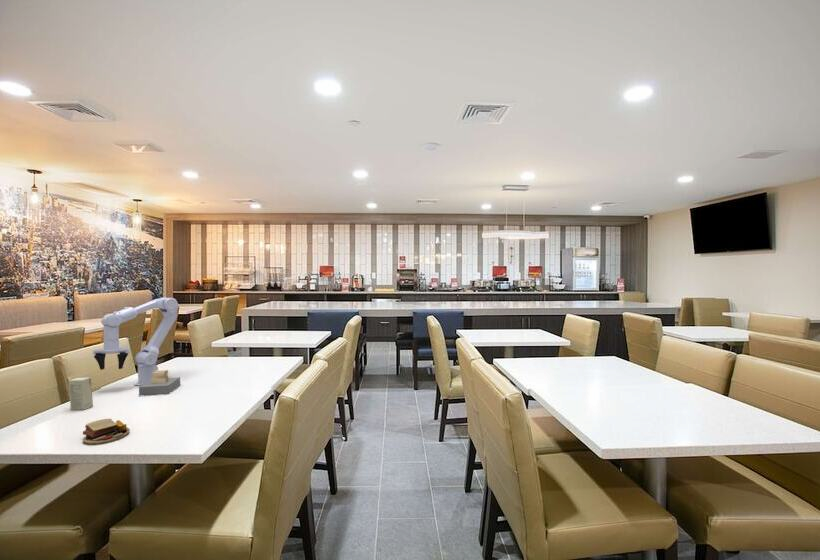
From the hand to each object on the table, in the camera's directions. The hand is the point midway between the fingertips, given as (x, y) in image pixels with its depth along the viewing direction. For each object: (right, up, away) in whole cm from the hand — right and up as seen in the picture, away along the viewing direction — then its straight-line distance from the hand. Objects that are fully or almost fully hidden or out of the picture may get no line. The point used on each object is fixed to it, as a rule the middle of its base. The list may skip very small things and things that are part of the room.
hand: (111, 368), depth 184 cm
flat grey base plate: (+23, -10, 0) cm, 25 cm away
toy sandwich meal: (+37, -12, -52) cm, 65 cm away
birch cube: (+23, -6, 0) cm, 24 cm away
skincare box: (+5, -11, -23) cm, 26 cm away
